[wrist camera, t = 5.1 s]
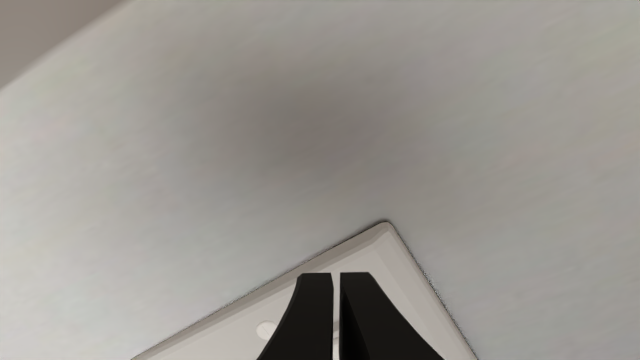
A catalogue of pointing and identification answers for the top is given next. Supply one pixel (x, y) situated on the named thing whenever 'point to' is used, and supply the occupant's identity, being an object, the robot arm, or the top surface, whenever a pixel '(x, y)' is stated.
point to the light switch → (350, 256)
